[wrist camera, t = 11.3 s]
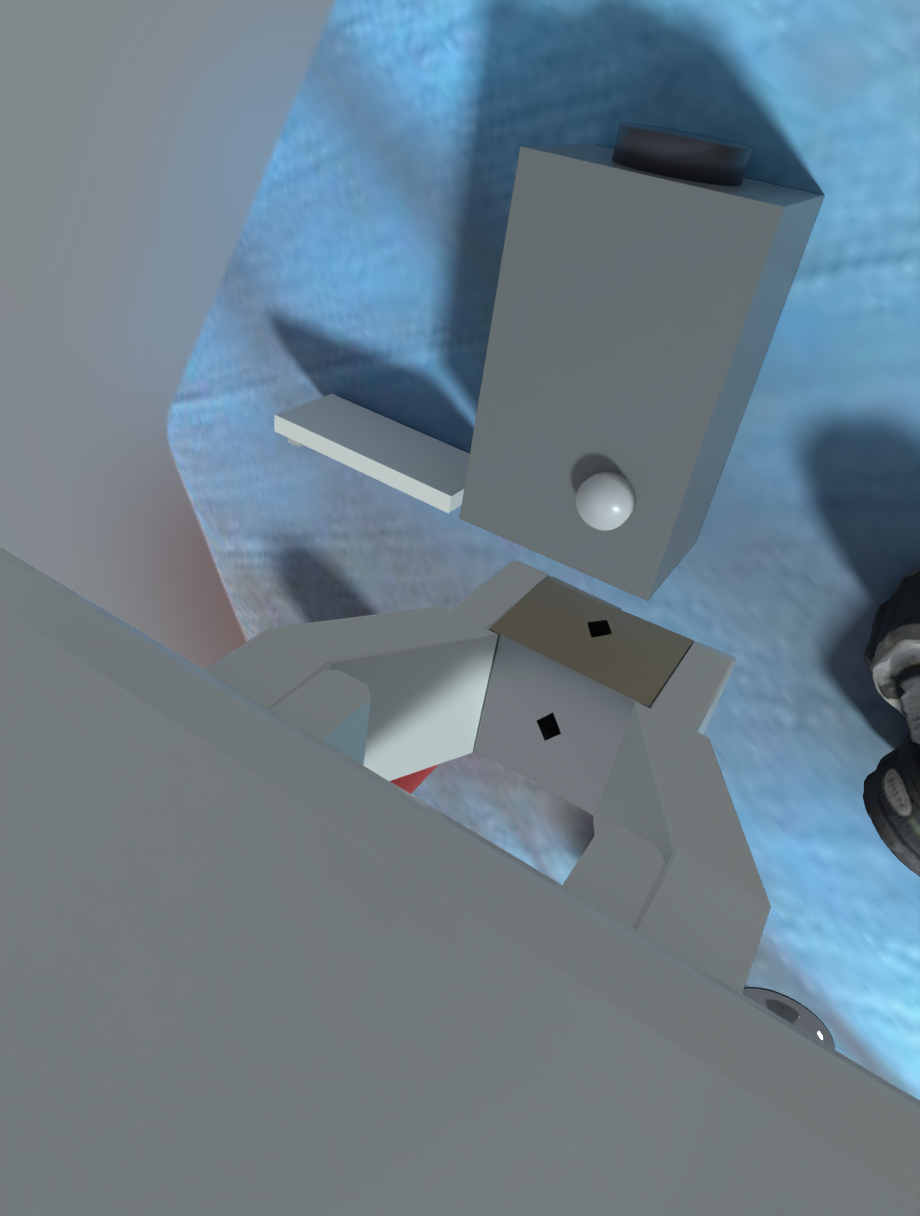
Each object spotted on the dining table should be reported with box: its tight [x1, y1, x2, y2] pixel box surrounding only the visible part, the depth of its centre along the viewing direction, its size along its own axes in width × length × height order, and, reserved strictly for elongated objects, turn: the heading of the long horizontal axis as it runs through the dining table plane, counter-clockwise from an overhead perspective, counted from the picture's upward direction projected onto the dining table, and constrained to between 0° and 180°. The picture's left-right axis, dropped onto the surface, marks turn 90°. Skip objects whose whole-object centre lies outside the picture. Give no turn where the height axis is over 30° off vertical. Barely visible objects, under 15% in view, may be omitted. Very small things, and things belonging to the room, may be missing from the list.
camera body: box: [459, 123, 825, 601], centre depth 34 cm, size 17×10×8 cm, turn 171°
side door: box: [274, 394, 470, 513], centre depth 45 cm, size 12×2×5 cm, turn 79°
